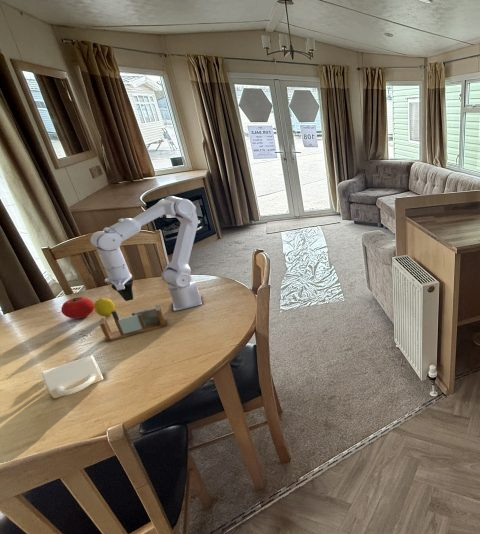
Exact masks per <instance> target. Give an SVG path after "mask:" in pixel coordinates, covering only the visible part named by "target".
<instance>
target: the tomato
mask: <svg viewBox="0 0 480 534" xmlns="http://www.w3.org/2000/svg"><path fill="white" fill-rule="evenodd" d="M94 304H95V302H94V301H93V300H92V299H90V298H88V297H85V296H77V297H73V298H71V299H68V300H66V301H64V302H63V304H62V306H61V310H60V311H61V313H62V314H63V315H64V316H65V317H67V318H69V319H82V318H86V317H88V316H90V315H91V314H93V312H94V311H95V308H94Z"/></svg>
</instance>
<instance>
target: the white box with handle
mask: <svg viewBox="0 0 480 534" xmlns="http://www.w3.org/2000/svg"><path fill="white" fill-rule="evenodd" d="M41 376H42V379H43V382H44V385H45V387H46V389H47V391H48V392H49V394H50V396H51V397H52V398H53V399H58V398H60V397H62V396H69V395H70V396H71V395H73V394H76V393H78V392H80V391H82V390H84V389H86V388H88V387H89V386H90V385H93V384H96V383H99V382H100V381H103V380H104V376H103V374H102V371H101V368H100V367H99V364H98V362H97V360H96V358H95V357H94V355H93V354H90V355H88V356H85V357H82V358H79V359H76V360H73V361H70V362H67V363H64V364H61V365H58V366H55V367H52V368H49V369H47V370H44V371H42V373H41Z"/></svg>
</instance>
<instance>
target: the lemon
mask: <svg viewBox="0 0 480 534" xmlns="http://www.w3.org/2000/svg"><path fill="white" fill-rule="evenodd" d="M94 311H95V313H96V314H97V315H99V316H101V317H107V318H108V317H111V316H112V313H111V312H112V311H116V305H115V303H114V302H113V301H112V299H109V298H105V297H104V298H103V297H101V298H99V299H97V300H96V301H95V302H94Z"/></svg>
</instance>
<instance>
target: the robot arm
mask: <svg viewBox="0 0 480 534" xmlns="http://www.w3.org/2000/svg"><path fill="white" fill-rule="evenodd" d="M162 216H174V217H175V218H176V219H177V220H178V221H179V222H180V224H179V228H178V233H177V237H176V241H175V244H174V249H173V253H172V257H171V261H169V262H168V263H167V264H166V267H165V269H163V271H162V272H161V280H162V281H163V282H165V283H166V284H167V289H168V292H169V295H170V297H171V300H172V309H173V311H174V312H177V311H181V310H185V309H189V308H194V307H197V306H200V305H203V301H202V295H201V293H200V292H199V288H198V285H197V281H192V275H191V274H192V273H191V272H192V270H191V267H190V265H189V263H190V259H191V254H192V250H193V245H194V242H195V238H196V233H197V229H198V226H199V218H198V214H197V206H196V205H195V204H194V203H193V202H192V201H191V200H189V199H187V198H181V197H177V196H174V195H169V196H167V197H165V198H162V199H160V200H158V201H157V203H155V204H154V205H152V206H150V207H149V208H147V209H146V210H144V211H142V212H141V213H139V214H138V215H136V216H135V217H133V218H130V217H126V218H119V219H118V220H117V221H118V222H116V223H114V224H113V225H111V226H109V227H106V226H105V227H104V228H103V230H100V231H99V230H98V231H96V232H94V233H92V234H91V236H90V241H89V243H90V245H91V246H92V247H95V248H96V249H95V250H96V251H97V253H98V257H99V259H100V262H101V264H102V266H103V269H104V271H105V273H106V276H107V278H105V279H104V282H105V283H110V284H111V285H110V286H111V287H110V288H112V289H113V290H114V291H115V292H117V293H118V294H119V296H121V297H122V299H123V300H124V301H125V302H129V301H133V300H134V291H133V285H134V284H133V283H134V279H133V275H132V273H131V271H130V269H129V267H128V264H127V262H126V259H125V257H124V255H123V252H122V250H121V245H122V243H123V242H124V241H127V240H128V239H130V238H132V237H133V236H135V235H136V234H138V233H140V232H141V229H142V227H143V226H145V225H147V224H149V223H150V222H152V221H155V220H156V219H158V218H160V217H162Z"/></svg>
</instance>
